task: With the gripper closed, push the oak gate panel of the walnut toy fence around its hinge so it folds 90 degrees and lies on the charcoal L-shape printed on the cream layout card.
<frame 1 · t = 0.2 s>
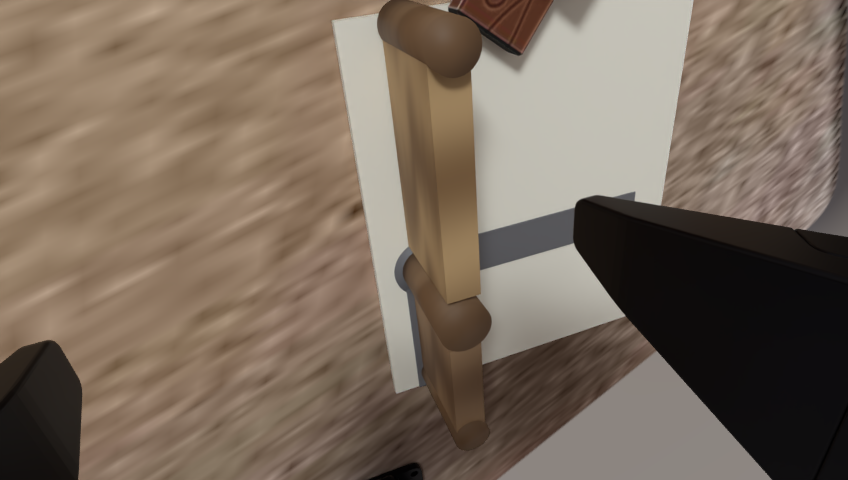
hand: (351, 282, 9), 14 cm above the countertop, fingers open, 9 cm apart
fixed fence: (421, 263, 27), resting on layout card
gate panel: (434, 157, 21), point 3 cm above the countertop, hinge at 0.0°
layout card: (526, 201, 27), on the countertop
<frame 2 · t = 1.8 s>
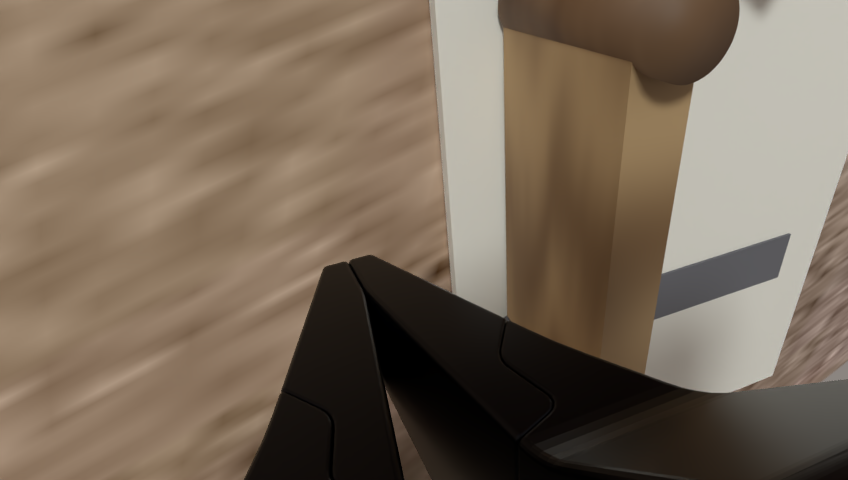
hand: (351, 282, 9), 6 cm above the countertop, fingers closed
gate panel: (582, 204, 14), point 3 cm above the countertop, hinge at 0.0°
layout card: (656, 249, 20), on the countertop
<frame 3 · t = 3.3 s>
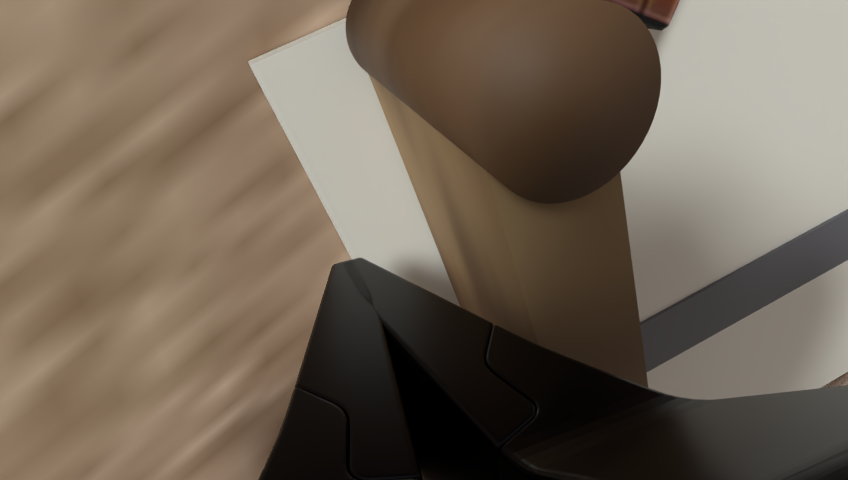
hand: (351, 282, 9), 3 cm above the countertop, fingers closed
gate panel: (527, 300, 10), point 3 cm above the countertop, hinge at -0.3°, touching gripper
layout card: (681, 265, 16), on the countertop
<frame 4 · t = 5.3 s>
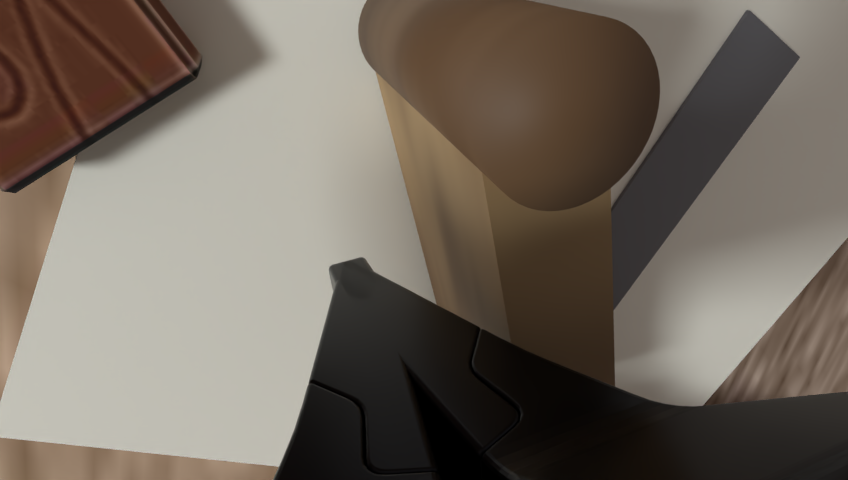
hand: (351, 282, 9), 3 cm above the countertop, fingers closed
gate panel: (506, 312, 10), point 3 cm above the countertop, hinge at -47.8°, touching gripper
layout card: (547, 235, 13), on the countertop
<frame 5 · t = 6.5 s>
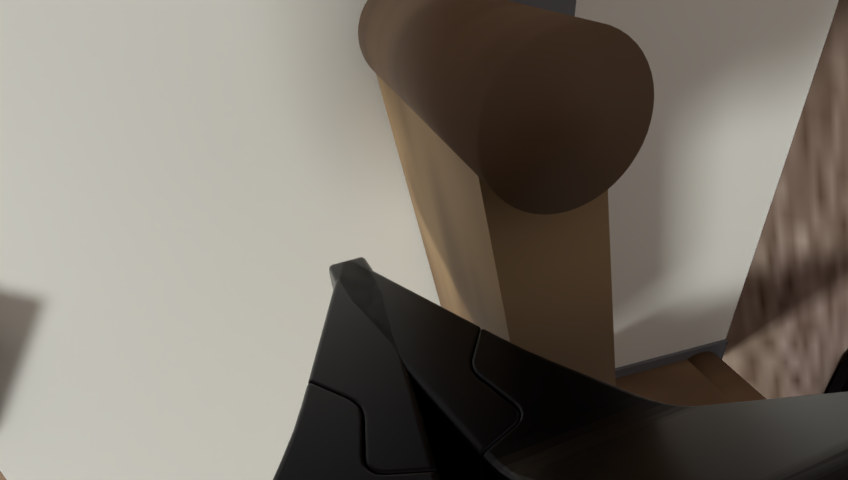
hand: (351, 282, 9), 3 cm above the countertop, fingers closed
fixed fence: (493, 414, 16), resting on layout card
gate panel: (508, 311, 10), point 3 cm above the countertop, hinge at -78.5°, touching gripper
layout card: (424, 263, 13), on the countertop
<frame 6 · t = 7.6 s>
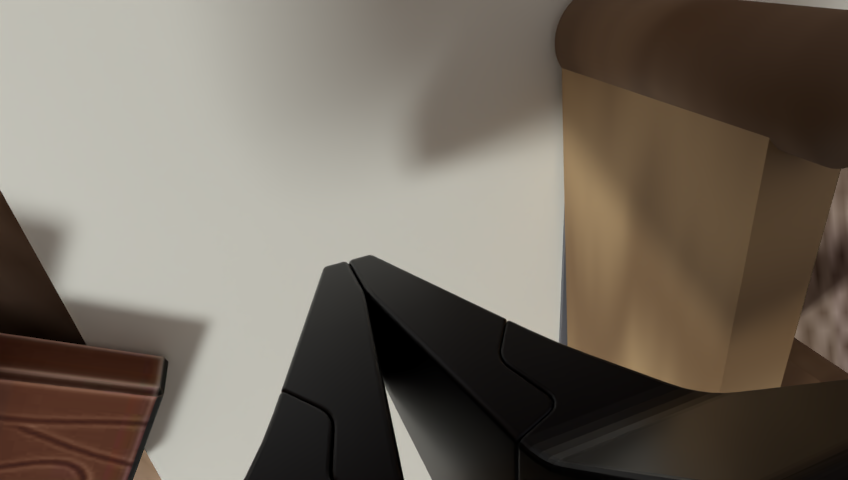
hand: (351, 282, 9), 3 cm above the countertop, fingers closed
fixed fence: (578, 398, 17), resting on layout card
gate panel: (670, 281, 11), point 3 cm above the countertop, hinge at -86.5°
layout card: (523, 262, 14), on the countertop
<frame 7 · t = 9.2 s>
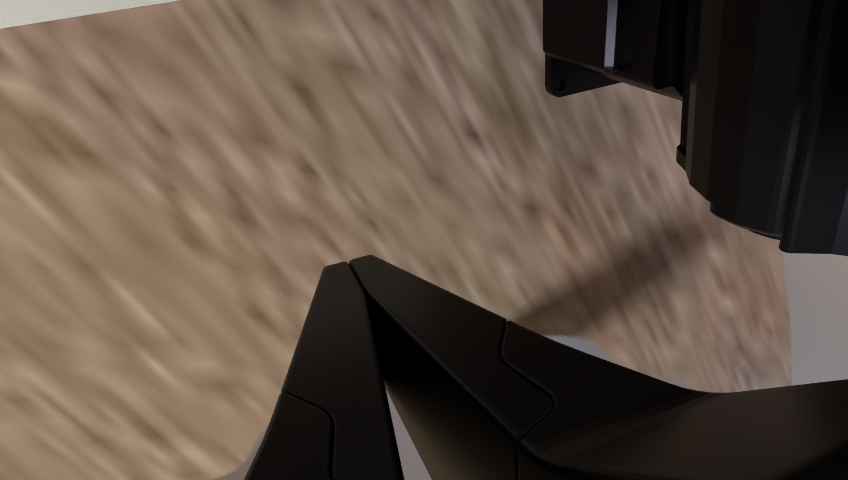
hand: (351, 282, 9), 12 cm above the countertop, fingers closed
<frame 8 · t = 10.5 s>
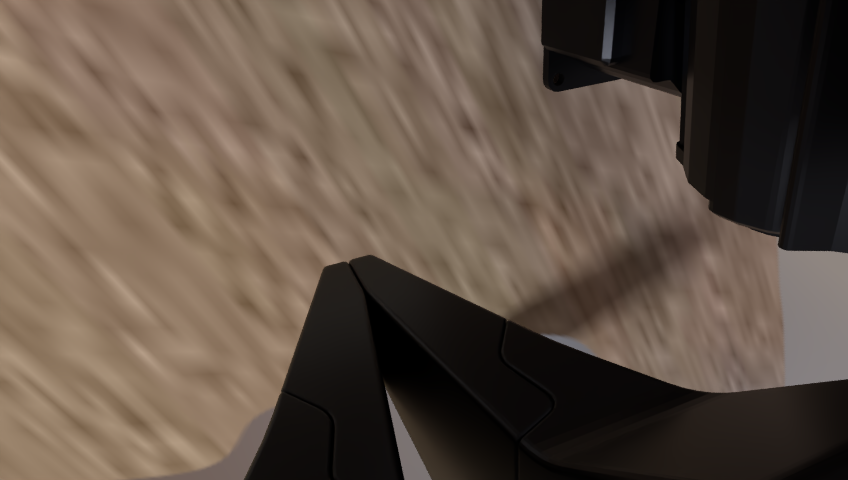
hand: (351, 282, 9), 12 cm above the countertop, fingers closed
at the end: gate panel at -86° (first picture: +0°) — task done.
